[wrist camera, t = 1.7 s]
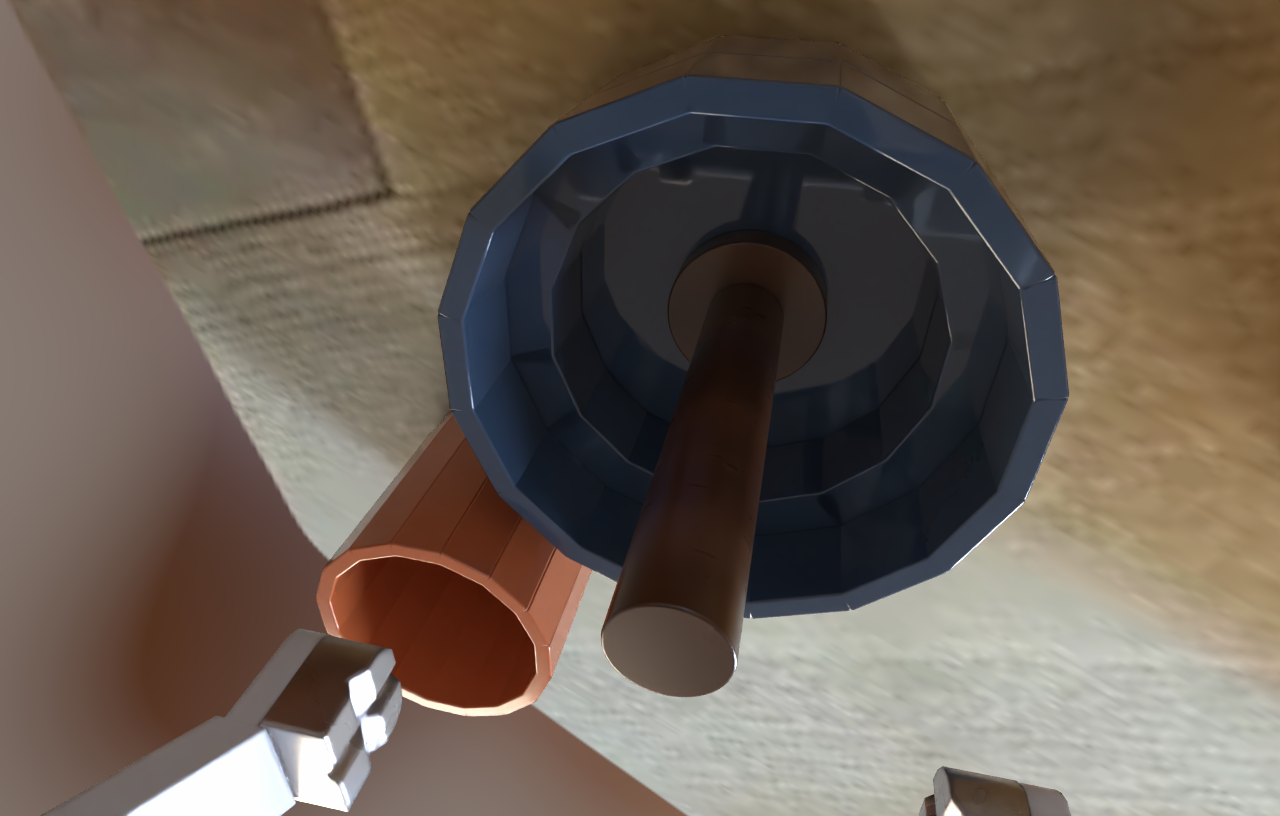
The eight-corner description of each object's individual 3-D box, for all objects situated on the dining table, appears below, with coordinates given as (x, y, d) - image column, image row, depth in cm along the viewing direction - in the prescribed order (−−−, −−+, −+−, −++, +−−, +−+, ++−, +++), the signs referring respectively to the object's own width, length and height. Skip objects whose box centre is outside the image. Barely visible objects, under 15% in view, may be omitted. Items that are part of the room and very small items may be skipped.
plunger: (677, 221, 21) (520, 520, 11) (840, 238, 21) (841, 578, 10) (669, 359, 24) (535, 710, 13) (814, 379, 23) (792, 767, 13)
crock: (419, 382, 28) (292, 524, 21) (617, 411, 27) (545, 573, 20) (443, 531, 32) (343, 688, 26) (614, 563, 31) (554, 737, 24)
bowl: (515, 17, 20) (399, 54, 15) (1086, 52, 18) (1191, 110, 12) (539, 443, 28) (470, 566, 23) (935, 507, 26) (959, 660, 21)
